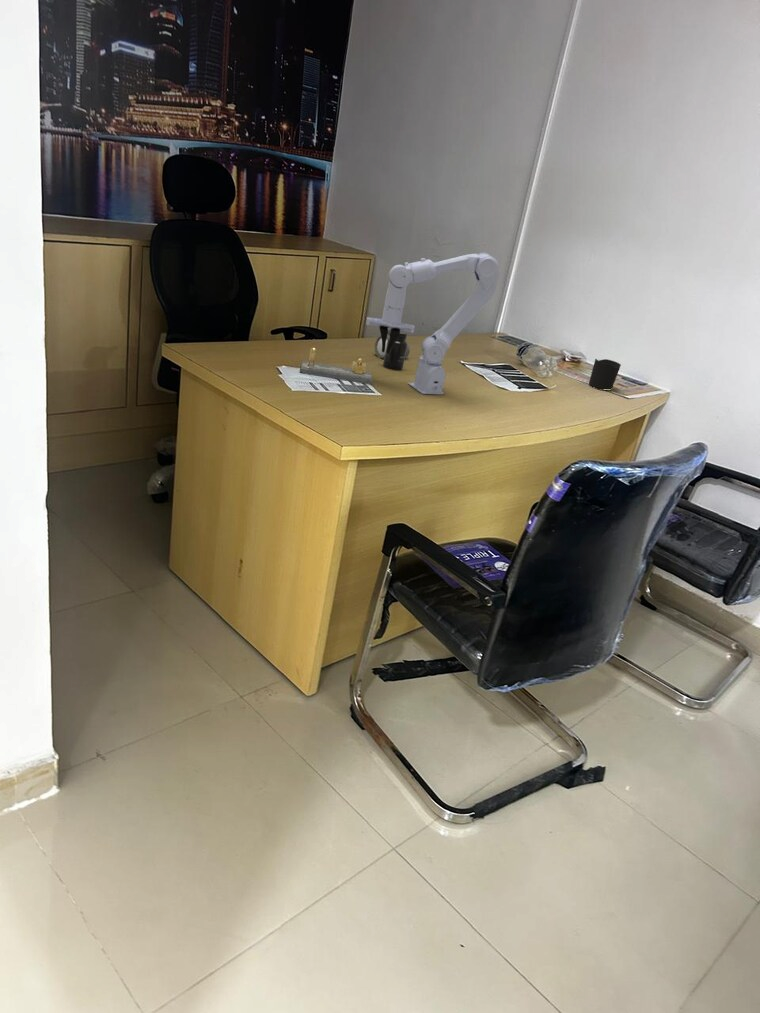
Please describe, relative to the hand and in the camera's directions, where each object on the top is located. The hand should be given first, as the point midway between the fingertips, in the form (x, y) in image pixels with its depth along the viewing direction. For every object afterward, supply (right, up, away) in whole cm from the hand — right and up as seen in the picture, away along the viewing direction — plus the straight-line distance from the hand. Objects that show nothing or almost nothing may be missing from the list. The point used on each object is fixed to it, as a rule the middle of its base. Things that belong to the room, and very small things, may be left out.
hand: (385, 351), depth 221 cm
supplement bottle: (+3, -1, +23) cm, 23 cm away
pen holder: (+81, -3, +52) cm, 97 cm away
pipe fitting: (+3, +5, +35) cm, 35 cm away
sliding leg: (-8, -6, +1) cm, 11 cm away
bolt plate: (-15, -6, +2) cm, 17 cm away
